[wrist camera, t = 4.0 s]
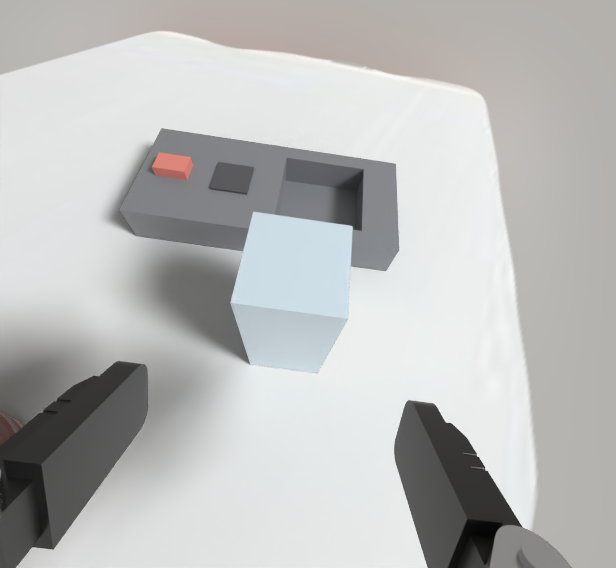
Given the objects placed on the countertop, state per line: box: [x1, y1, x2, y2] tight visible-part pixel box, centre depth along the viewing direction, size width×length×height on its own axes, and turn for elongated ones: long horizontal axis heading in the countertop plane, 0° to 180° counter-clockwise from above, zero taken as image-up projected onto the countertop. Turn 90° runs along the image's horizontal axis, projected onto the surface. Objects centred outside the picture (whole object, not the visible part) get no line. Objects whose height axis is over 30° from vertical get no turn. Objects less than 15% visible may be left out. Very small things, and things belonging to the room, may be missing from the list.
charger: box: [230, 212, 353, 374], centre depth 17 cm, size 4×5×10 cm
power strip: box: [119, 129, 399, 271], centre depth 25 cm, size 20×9×4 cm, turn 84°
